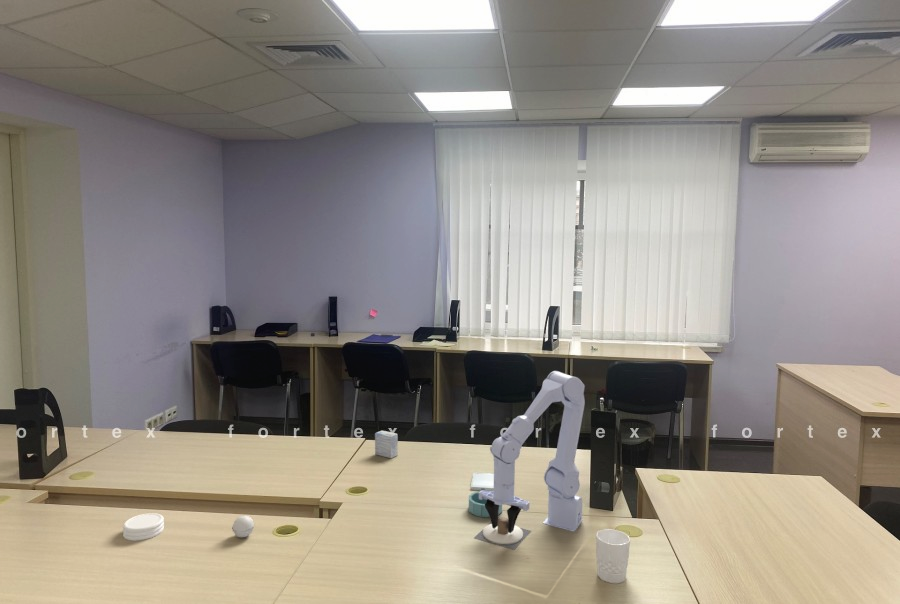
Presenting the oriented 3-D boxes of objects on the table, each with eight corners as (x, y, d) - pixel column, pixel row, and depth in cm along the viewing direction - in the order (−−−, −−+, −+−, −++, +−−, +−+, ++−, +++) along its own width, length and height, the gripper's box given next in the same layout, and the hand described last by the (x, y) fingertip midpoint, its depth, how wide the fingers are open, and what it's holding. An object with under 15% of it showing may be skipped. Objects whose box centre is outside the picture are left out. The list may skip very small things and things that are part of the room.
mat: (531, 532, 161) (531, 530, 161) (514, 551, 151) (514, 549, 151) (492, 522, 167) (492, 520, 167) (473, 539, 157) (473, 537, 157)
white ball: (232, 533, 159) (231, 513, 158) (253, 530, 161) (253, 510, 160) (232, 546, 151) (231, 526, 151) (255, 543, 153) (254, 522, 153)
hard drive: (473, 472, 202) (470, 486, 189) (496, 473, 201) (495, 487, 189) (473, 477, 202) (470, 491, 190) (496, 478, 201) (495, 492, 189)
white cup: (622, 567, 144) (623, 528, 143) (633, 585, 136) (634, 544, 135) (591, 567, 144) (592, 528, 143) (600, 585, 136) (601, 545, 135)
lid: (528, 531, 161) (529, 516, 160) (513, 548, 151) (513, 533, 151) (493, 521, 166) (493, 507, 166) (476, 537, 157) (476, 523, 156)
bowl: (507, 509, 176) (507, 495, 175) (492, 522, 167) (493, 508, 167) (478, 502, 181) (478, 488, 180) (462, 514, 172) (462, 500, 172)
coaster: (165, 521, 165) (165, 510, 165) (162, 538, 156) (161, 525, 156) (126, 527, 161) (126, 515, 161) (120, 544, 152) (119, 531, 152)
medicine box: (398, 455, 220) (398, 433, 220) (390, 459, 217) (390, 436, 216) (382, 451, 225) (382, 430, 224) (374, 454, 221) (374, 432, 220)
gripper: (473, 480, 158) (473, 528, 159) (522, 492, 150) (521, 542, 152) (485, 472, 164) (484, 518, 165) (532, 483, 156) (531, 531, 158)
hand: (503, 529), depth 159 cm, fingers open, 4 cm apart
